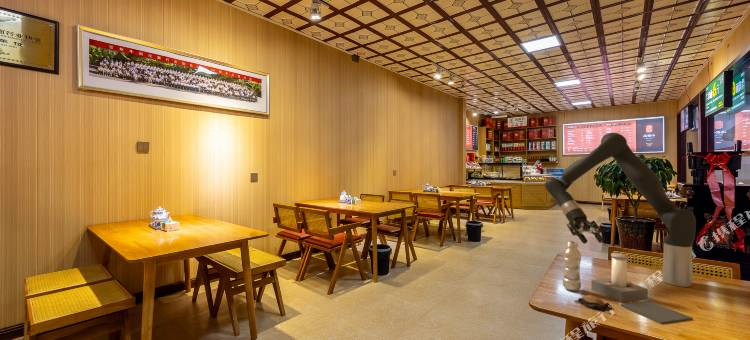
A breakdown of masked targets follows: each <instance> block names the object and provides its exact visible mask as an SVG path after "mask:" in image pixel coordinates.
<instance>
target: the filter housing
mask: <svg viewBox="0 0 750 340" xmlns="http://www.w3.org/2000/svg"><path fill="white" fill-rule="evenodd" d="M590 288H591V290H592V291H594V292H597V293H599V294H602V295H604V296H606V297H608V298H611V299H613V300H615V301H617V302H619V303H627V302H633V301H634V302H635V301H646V300H648V299H649V298H648V297H649V296H648V295H649V289H648V288H647V287H643V286H642V285H641V286H640V285H638V284H635V283H633V282H632V281H631V280H627V287H625V288H619V287H616V286H614V285H612V283H611V277H608V278H607V277H606V278H599V279H591V287H590Z"/></svg>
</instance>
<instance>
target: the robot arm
mask: <svg viewBox="0 0 750 340" xmlns="http://www.w3.org/2000/svg"><path fill="white" fill-rule="evenodd" d="M610 158H613V159H614V161H616V163H618V165H619V167H620V168H621V170H622V171H623V173H624V175H625V177H626V178H627V179H628V181H629V182H630V183H631V184H632V185H633V186H634V188H635V189H636V190H637V191H638V192H639V193H640V194H641V196H642V197H643V198H644V199H645V201H647V202H648V204H649V205H651V207H652V208H653V210H654V212H655V213H656V215H657V216H658V217H659V219H660V220H661V222H662V223H663V224H664V226H665V225H666V226H667V227H669V230H668V234H667V235H665V236H664V238H663V257H662V259H663V260H662V262H663V263H662V265H663V266H662V281H663V283H666V284H668V285H671V286H677V287H681V288H682V287H684V288H685V287H686V288H687V287H688V288H689V287H691V286H692V285H693V266H694V265H693V262H692V258H693V242H694V240H695V239H696V229H697V220H696V219H697V218H696V215H694V213H693V212H692V211H690V210H687V209H683V208H680V207H678V206H677V205H676V204H675V203H674V202H673V201H672V200H671V199H670V198H669V197H668V196H667V194H666V192H665V188H664V186H663V183H662V181H661V180H660V178H659V176H658V175H657V174H656V173H655V172H654V170H652V168H650V167H649V166H648V164H646V163H645V162H644V161H643V160H642V159H640V157H638V156H637V154H635V153H634V152H633V151H632V149H631V148H630V146H629V145H628V141H627V139H626V137H625V136H623V134H620V133H619V132H608V133H605V134H604V135H603V136H602V138H601V140H600V143H599V145H598V146H597V147H596V148H595V149H593V150H592V151H591V152H590V153H588V154H586V155H585V156H583V157H581V158H580V159H578V160H576V161H574V162H573V163H572V164H570V165H569V166H568V167H566V168H564V169H563V171H562V172H561V177H560V178H556V177H552V176H551V177H548V178H547V179H546V180H545V182H544V187H545V189H546V190H547V192H548V193H549V194H550V196H552V198H553V199H554V200H555V201H556V203H557V205H558V207H559V208H560V210H561V212H562V213H563V215H564V217H566V219H567V221H568V223H567V224H566V226H567V228H568V230H569V232H570V233H571V234H572V236H574V237H575V236H576V237H578V238H579V240H580V242H581V243H582V244H585V245H586V244H587V243H588V239H587V238H586V236H585V235H584V232H586V233H589V234H592V235H593V236H594V237H595V239H596V241H598V243H599V244H601V243H603V242H604V237H603V236H602V235H601V233H602V232H603V230H602V229H601V227H600V226H599V225H598V223H597V222H596V221H595V220H592V221H589V220H588V219H587V217H588V216H587V214H586V213H585V211H584V210H583V209H582V208H581V206H580V205H579V204H578V202H576V200H575V199H574V197H573V195H571V194H570V192H568V191H567V190H568V189H569V188H570V187H571V186H572V184H573V183H574V182H576V181H577V180H578V179H579V178H581V177H582V176H584V175H585V174H586V173H588V172H589V171H591V170H592V169H593V168H595V167H596V166H597V165H599V164H601V163H602V162H604V161H606V160H608V159H610Z"/></svg>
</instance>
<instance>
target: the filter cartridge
mask: <svg viewBox="0 0 750 340" xmlns="http://www.w3.org/2000/svg"><path fill="white" fill-rule="evenodd" d="M610 257H611V277H610V278H611V283H612V285H614V286H616V287H619V288H625V287H627V281H628V280H627V278H628V260H629V255H627V254H625V253H618V252H611V254H610Z"/></svg>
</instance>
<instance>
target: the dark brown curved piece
mask: <svg viewBox="0 0 750 340" xmlns="http://www.w3.org/2000/svg"><path fill="white" fill-rule="evenodd" d="M573 302H574V303H575V304H578V305H580V306H582V307H585V308H588V309H590V310H593V311H597V312H600V313H605V312H608V311H612V310H613V306H612V305H611V304H610V303H609V302H604V301H603V300H602V299H601V298H599V297H598V296H595V295H593V294H588V295H584V296H581V297H579V298H578V299H576V300H574V301H573Z"/></svg>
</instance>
